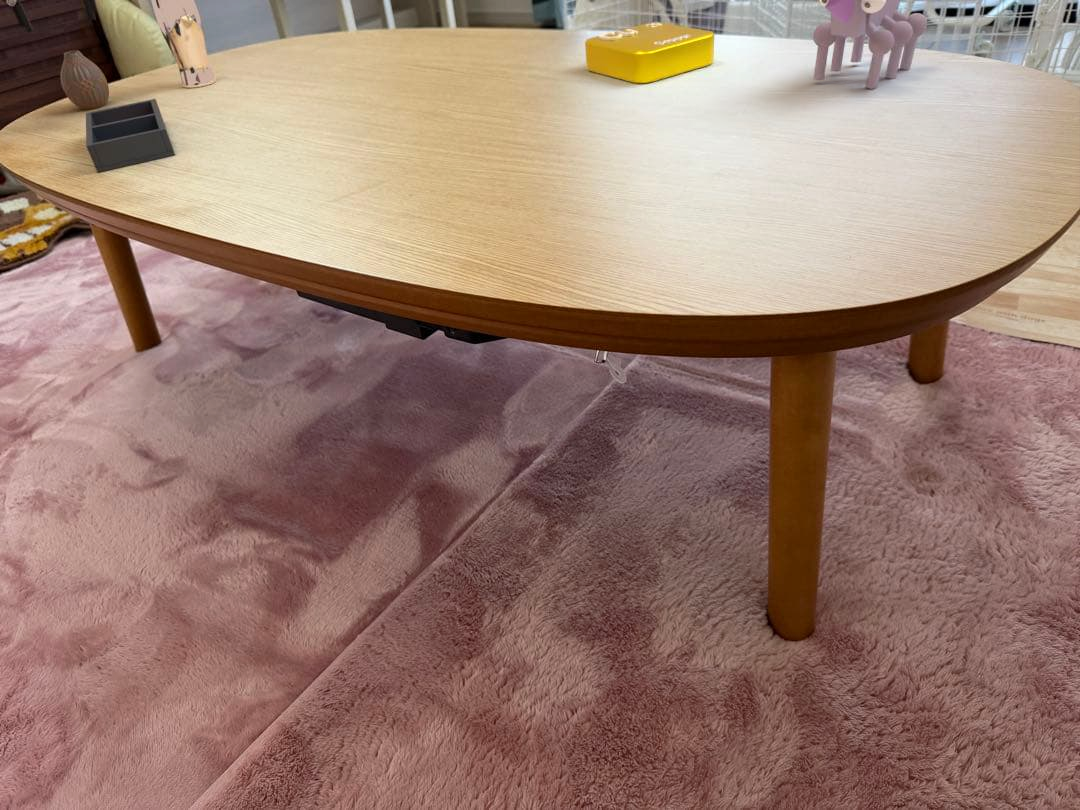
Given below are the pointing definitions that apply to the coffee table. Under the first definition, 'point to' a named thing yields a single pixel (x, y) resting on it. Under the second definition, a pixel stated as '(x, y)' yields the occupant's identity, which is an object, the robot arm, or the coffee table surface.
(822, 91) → the coffee table surface
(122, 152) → the holder
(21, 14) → the robot arm
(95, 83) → the vase
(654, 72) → the element tile
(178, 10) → the beer glass
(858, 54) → the pink figurine
